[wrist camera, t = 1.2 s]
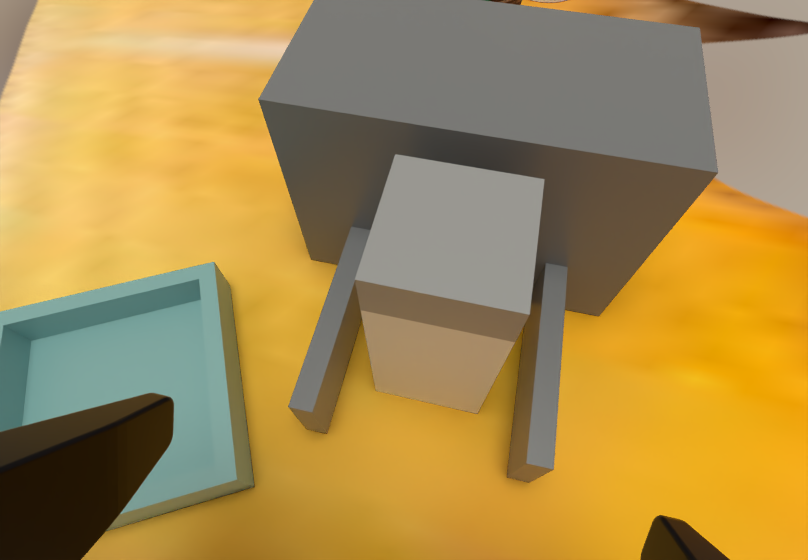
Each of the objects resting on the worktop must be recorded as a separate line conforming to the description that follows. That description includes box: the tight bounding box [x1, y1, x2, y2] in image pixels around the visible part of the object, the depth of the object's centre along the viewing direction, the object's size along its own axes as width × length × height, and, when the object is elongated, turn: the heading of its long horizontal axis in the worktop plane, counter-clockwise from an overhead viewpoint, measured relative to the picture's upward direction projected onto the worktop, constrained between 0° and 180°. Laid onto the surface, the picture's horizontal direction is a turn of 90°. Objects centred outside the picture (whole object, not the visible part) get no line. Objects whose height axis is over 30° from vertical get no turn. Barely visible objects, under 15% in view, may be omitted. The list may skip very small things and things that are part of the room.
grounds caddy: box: [355, 154, 545, 414], centre depth 19 cm, size 5×5×11 cm
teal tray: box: [0, 262, 254, 531], centre depth 22 cm, size 11×11×2 cm
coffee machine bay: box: [258, 0, 718, 483], centre depth 21 cm, size 17×16×11 cm
